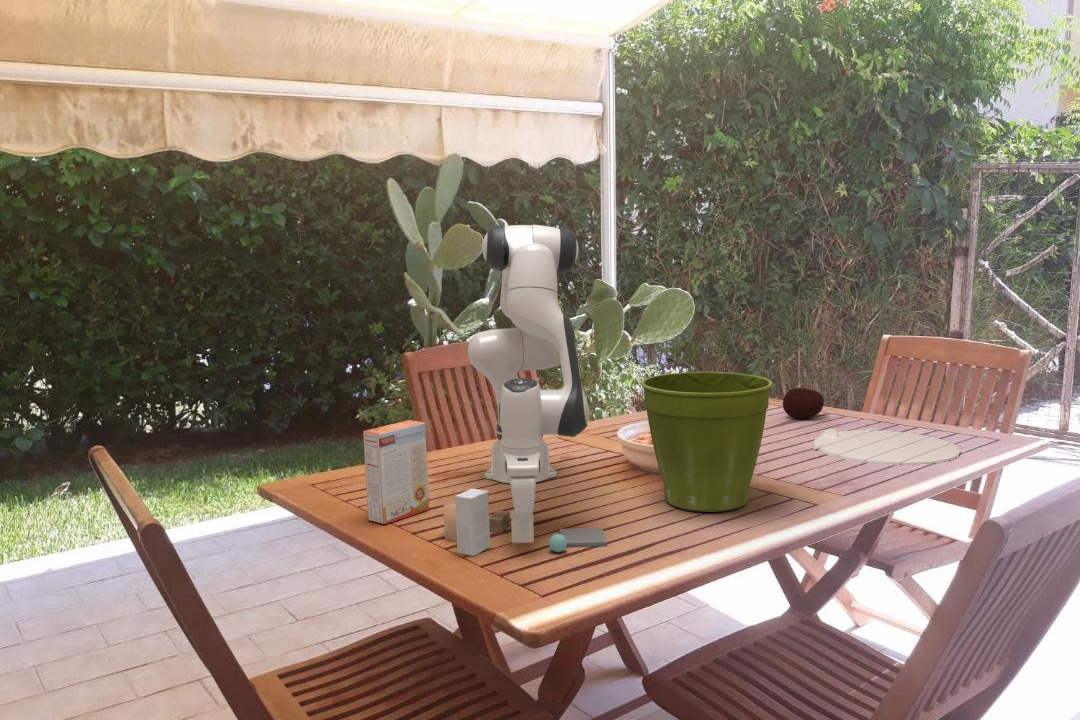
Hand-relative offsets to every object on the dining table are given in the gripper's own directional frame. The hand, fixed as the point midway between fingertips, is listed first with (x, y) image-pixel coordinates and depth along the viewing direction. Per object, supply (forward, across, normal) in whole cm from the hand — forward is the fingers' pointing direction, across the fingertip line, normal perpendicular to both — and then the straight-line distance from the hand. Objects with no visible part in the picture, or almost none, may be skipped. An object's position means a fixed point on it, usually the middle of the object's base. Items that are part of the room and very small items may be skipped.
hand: (523, 523), depth 192 cm
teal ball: (+4, +8, +7) cm, 11 cm away
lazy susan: (+4, -70, +105) cm, 126 cm away
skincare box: (+4, +6, -10) cm, 12 cm away
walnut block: (+4, -8, -5) cm, 11 cm away
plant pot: (+4, -23, +43) cm, 49 cm away
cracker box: (+4, -19, -28) cm, 34 cm away
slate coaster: (+4, +1, +12) cm, 13 cm away
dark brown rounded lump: (+3, -112, +94) cm, 146 cm away
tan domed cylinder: (+4, -4, -13) cm, 14 cm away
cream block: (+4, 0, 0) cm, 4 cm away
